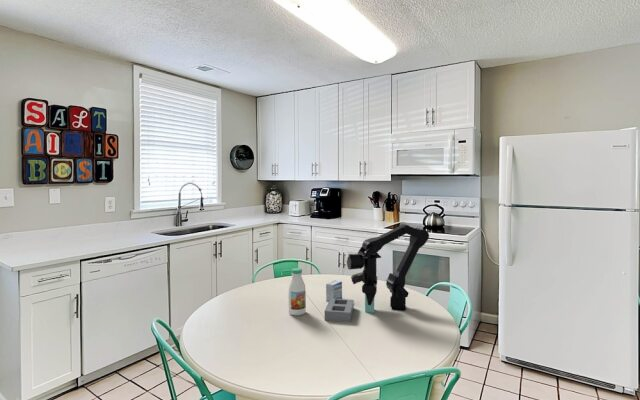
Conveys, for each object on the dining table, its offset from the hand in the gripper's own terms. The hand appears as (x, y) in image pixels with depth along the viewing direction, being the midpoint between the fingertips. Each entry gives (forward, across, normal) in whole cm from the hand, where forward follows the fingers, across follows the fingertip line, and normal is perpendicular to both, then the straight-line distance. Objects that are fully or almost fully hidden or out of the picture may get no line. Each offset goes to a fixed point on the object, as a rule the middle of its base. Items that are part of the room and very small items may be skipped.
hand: (370, 301), depth 163 cm
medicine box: (+4, -12, -18) cm, 22 cm away
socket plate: (+4, +6, -13) cm, 15 cm away
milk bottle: (+4, +8, -32) cm, 33 cm away
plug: (+4, 0, 0) cm, 4 cm away
